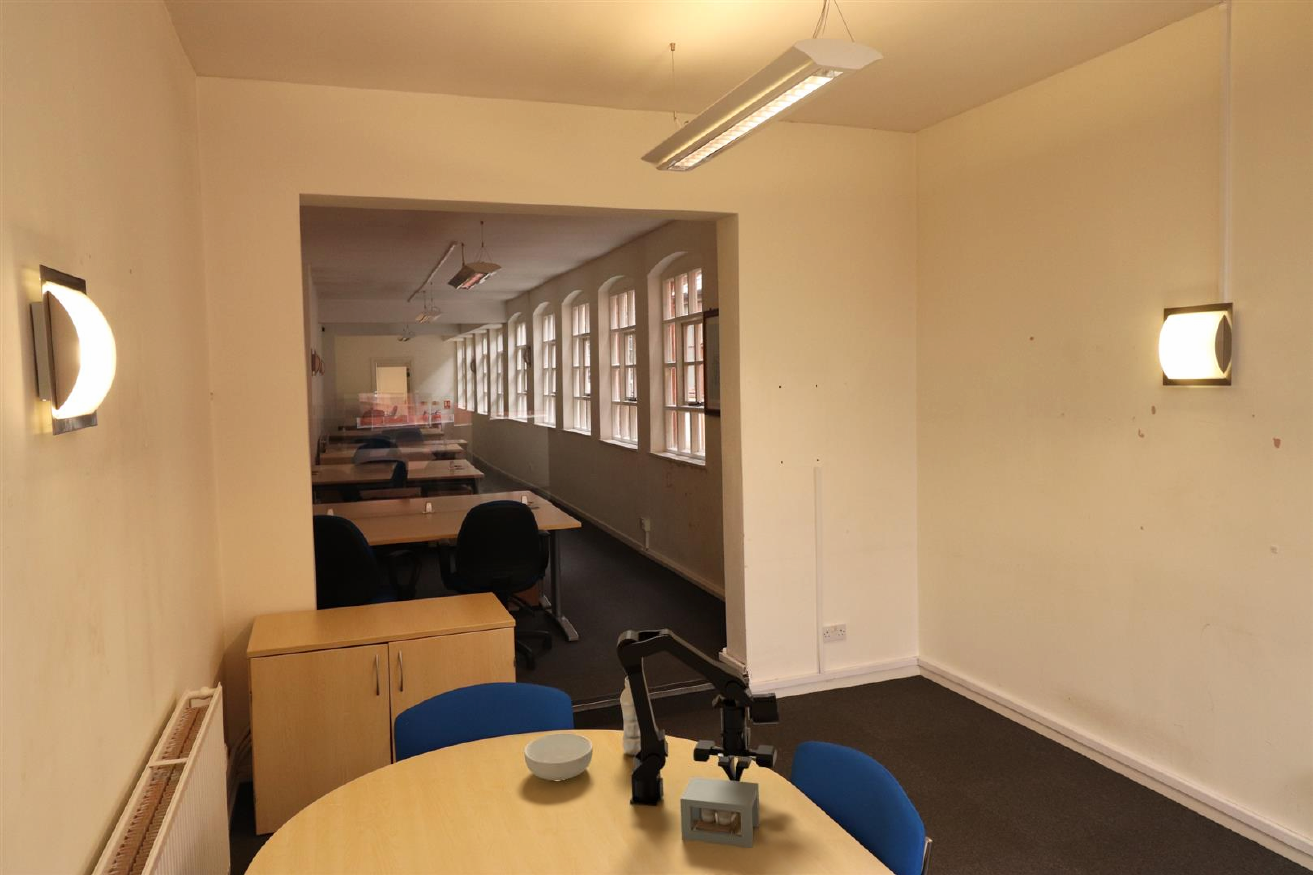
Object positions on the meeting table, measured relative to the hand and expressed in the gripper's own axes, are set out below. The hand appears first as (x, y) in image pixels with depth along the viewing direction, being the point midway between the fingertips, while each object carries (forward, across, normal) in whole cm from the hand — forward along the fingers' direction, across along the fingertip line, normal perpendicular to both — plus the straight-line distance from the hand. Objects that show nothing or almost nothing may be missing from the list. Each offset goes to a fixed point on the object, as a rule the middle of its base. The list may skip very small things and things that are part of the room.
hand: (736, 788), depth 202 cm
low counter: (+1, 0, +16) cm, 16 cm away
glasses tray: (+1, +1, +10) cm, 10 cm away
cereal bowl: (+2, +45, -1) cm, 45 cm away
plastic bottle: (+2, +30, -16) cm, 34 cm away
